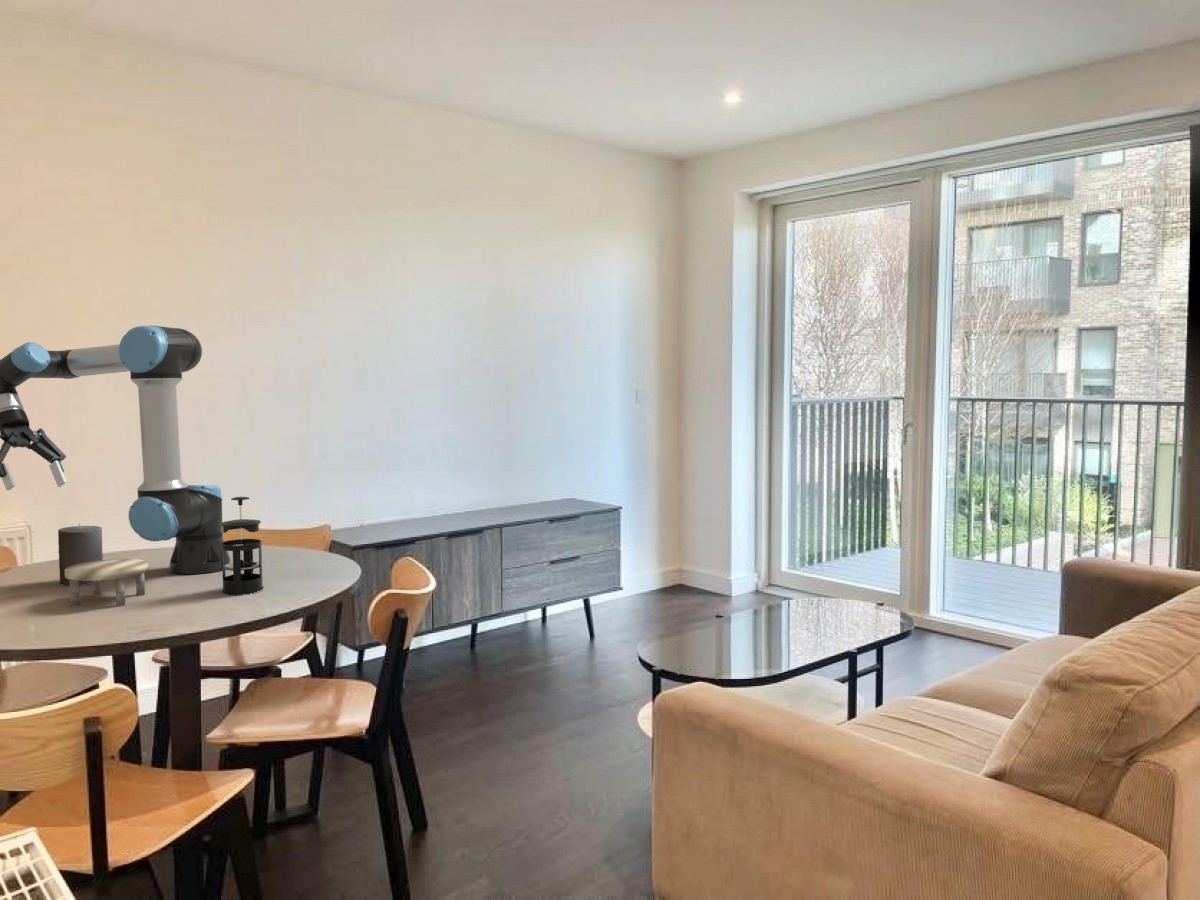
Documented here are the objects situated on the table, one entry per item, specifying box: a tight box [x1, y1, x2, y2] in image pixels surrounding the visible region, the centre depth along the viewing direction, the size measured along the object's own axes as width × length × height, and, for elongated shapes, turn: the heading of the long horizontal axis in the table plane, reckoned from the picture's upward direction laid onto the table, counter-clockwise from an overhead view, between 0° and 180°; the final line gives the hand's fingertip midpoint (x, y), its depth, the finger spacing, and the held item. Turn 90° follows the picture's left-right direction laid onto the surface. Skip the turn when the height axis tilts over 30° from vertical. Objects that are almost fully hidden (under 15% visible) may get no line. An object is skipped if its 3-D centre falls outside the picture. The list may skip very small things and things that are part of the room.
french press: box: [221, 496, 264, 596], centre depth 212 cm, size 12×9×23 cm
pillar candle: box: [57, 523, 104, 586], centre depth 221 cm, size 10×10×15 cm
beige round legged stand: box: [65, 558, 150, 607], centre depth 202 cm, size 17×17×8 cm
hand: (37, 486), depth 224 cm, fingers open, 13 cm apart
